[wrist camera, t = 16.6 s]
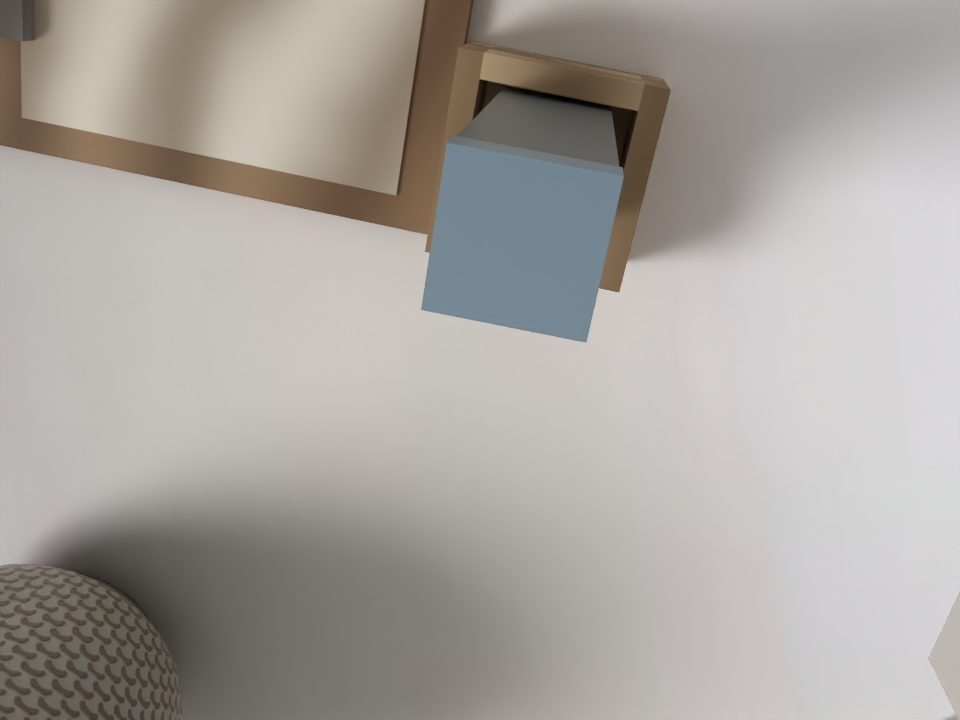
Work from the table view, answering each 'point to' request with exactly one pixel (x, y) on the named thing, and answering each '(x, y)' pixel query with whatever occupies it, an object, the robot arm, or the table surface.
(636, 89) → the holder
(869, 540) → the table surface
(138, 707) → the planter
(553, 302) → the blue-grey tall block
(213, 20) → the clipboard
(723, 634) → the table surface
